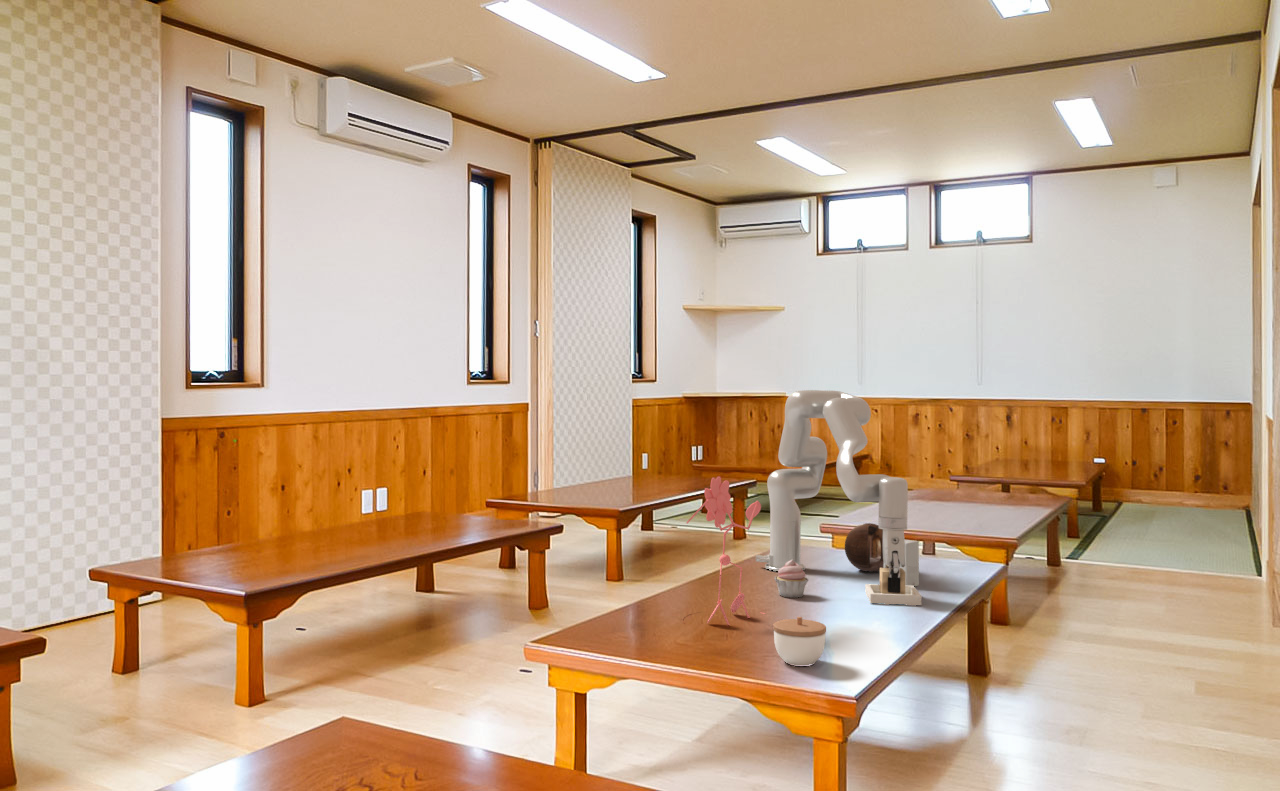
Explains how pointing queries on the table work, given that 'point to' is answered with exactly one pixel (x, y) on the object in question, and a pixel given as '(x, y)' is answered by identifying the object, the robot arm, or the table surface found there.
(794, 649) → the lidded jar
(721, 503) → the figurine
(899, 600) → the tray
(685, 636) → the table surface
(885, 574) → the cube
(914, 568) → the small box
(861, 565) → the wooden sphere
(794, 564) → the cupcake
